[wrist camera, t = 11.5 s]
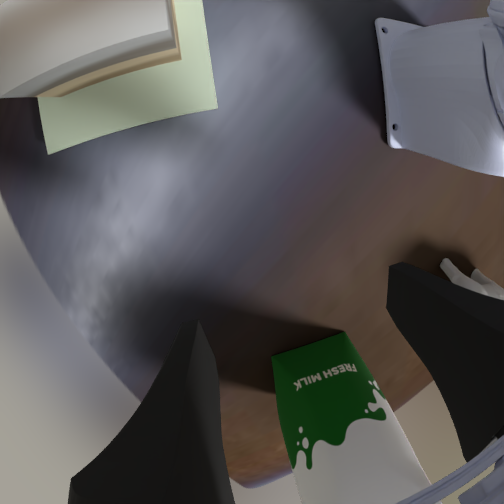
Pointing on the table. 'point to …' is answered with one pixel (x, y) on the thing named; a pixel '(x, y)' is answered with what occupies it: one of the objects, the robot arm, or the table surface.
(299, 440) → the milk carton
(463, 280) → the dog figurine
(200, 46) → the stand
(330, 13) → the table surface
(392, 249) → the table surface
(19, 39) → the cream layered block
